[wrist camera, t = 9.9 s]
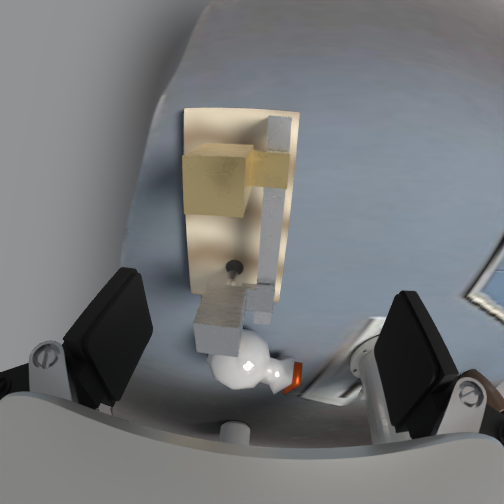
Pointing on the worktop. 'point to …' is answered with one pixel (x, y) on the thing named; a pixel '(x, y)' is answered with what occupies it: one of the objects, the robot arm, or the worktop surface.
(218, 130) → the hole plate
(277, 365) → the potion bottle
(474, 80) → the worktop surface
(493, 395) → the plant pot
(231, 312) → the trammel frame
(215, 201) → the block
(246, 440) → the can
